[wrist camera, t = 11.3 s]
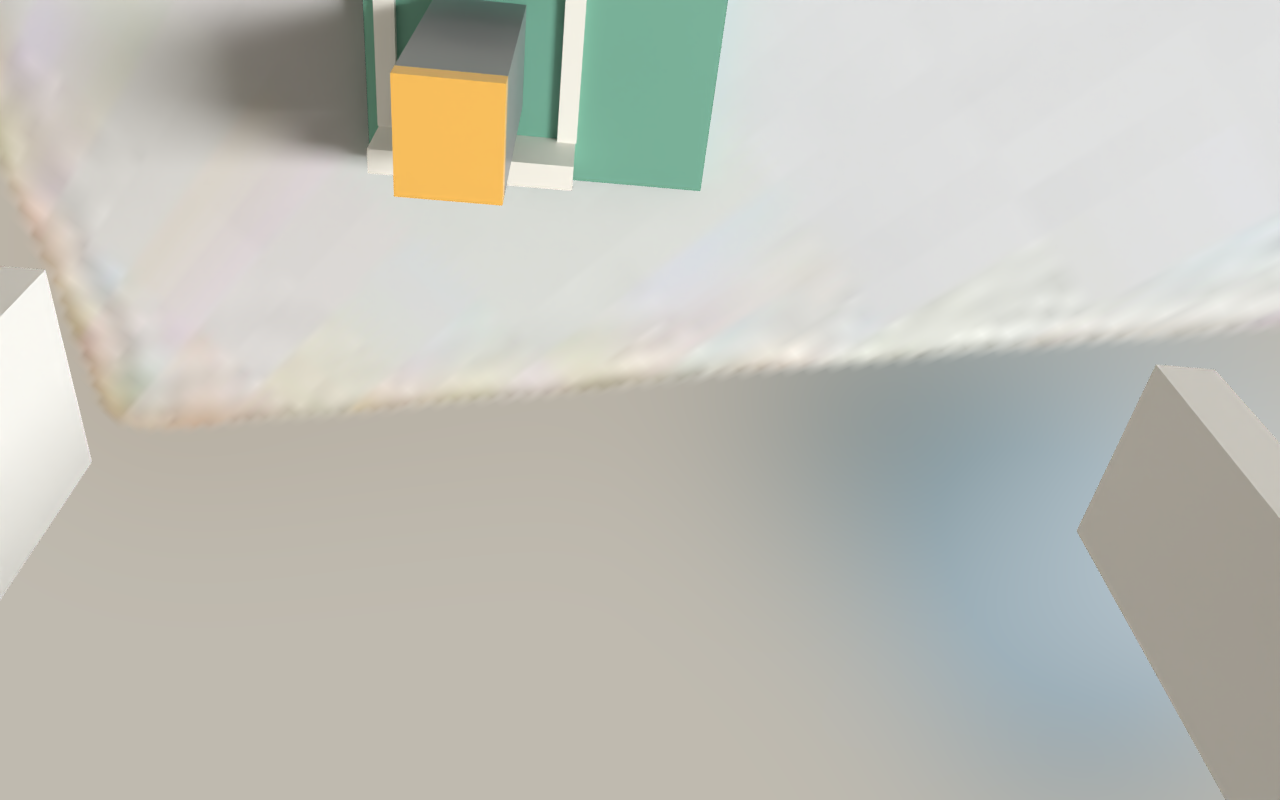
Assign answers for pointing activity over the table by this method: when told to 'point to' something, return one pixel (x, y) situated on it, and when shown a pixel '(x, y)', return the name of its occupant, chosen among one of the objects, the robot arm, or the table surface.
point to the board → (584, 89)
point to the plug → (458, 102)
